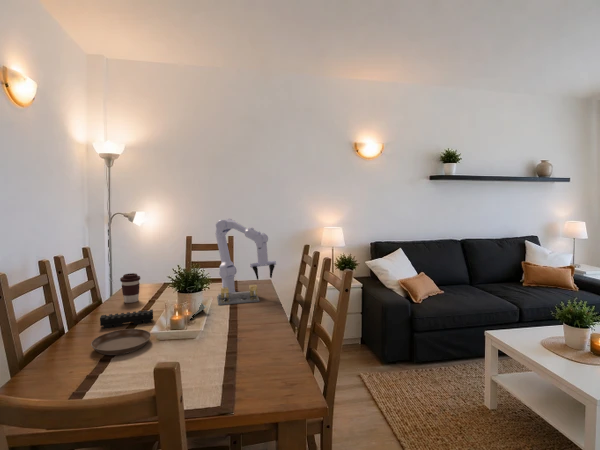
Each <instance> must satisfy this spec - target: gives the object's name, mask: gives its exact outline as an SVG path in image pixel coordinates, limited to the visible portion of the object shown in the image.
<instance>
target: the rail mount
mask: <svg viewBox="0 0 600 450" xmlns="http://www.w3.org/2000/svg"><path fill="white" fill-rule="evenodd" d="M152 320H154V309H152V308H151V309H149V310H147V309H145V310H143V311H142V310H138V311H137V312H136V311H132V312H130V311H128V312H126V313H125V312H120V314H119V313H115V314H112V313H111V314H110V313H109V314H108V315H107V314H101V315H100V318H99V323H100V324H99V325H100V327H102V329H103V330H104V329H106V330H107V329H111V328H112V329H113V328H120V327H121V328H122V327H123V324H128V323H133V326H136V325H143V324H144V325H145V324H151V323H152Z"/></svg>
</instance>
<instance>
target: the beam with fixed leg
mask: <svg viewBox="0 0 600 450" xmlns="http://www.w3.org/2000/svg"><path fill="white" fill-rule="evenodd" d="M217 296H218V299H224V300H225V301H226V298H236V297H249V296H250V291H249V290H247V291H235V292H232V293H229V289H228V287H224V288H222V287H220V293H219V292H218V294H217Z"/></svg>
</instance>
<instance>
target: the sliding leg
mask: <svg viewBox="0 0 600 450" xmlns="http://www.w3.org/2000/svg"><path fill="white" fill-rule="evenodd" d="M248 286H249V288H248V289H249V290H248V291H250V296H254V298H255V297H256V296H258V285H257V284H249V285H248Z"/></svg>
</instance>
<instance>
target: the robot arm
mask: <svg viewBox="0 0 600 450" xmlns="http://www.w3.org/2000/svg"><path fill="white" fill-rule="evenodd" d="M233 229H234V230H236V231H238V232H240V233H243V234H244V236H245V237H246V238H247V239H250V240H251V241H253V242H254V244H255V245H256V252H257V254H256V255H257V262H254V263H250V268H252V270H253V272H254V273H255V276H256V280H257V281H258V280H259V272H258V271H259V270H258V269H259V268H260V267H267V266H268V267H269V268H268V269H269V278H270V279H272V277H273V272H274V269H275V267H276V265H277V262H276V260H271V261H269V259H268V257H269V256H268V245H267V243H268V241H269V237H268V235H267V234H266V233H264V232H261V231H258V230H256V229H255V228H254V227H248V228H247V227H245V226H244V225H242V224H241V223H238V222H237V221H236V220H234V219H233V218H226V219H219V220H217V222H216V223H215V238H216V242H217V248H218V253H219V256H220V257H219V258H220V262H221V263H220V265H219V268H218V269H219V277H220V278H221V285H222V286H221V288H224V287H228V289H229V293H232V292H236V289H235V277H236V276H235V275H236V274H237V268H236V267H235V264H234V263H235V262H233V261H232V260H231V255H230V251H229V246H228V241H227V238H226V236H227V234H228V232H229V231H231V230H233ZM258 267H259V268H258Z"/></svg>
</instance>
